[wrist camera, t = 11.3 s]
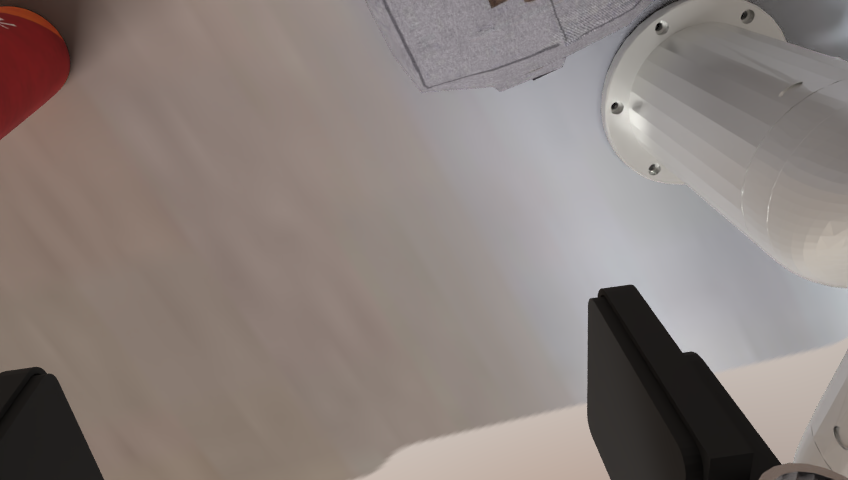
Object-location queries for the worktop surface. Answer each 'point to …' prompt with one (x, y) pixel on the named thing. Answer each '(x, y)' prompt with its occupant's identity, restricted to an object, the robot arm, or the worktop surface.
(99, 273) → the worktop surface
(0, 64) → the paper cup
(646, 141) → the robot arm
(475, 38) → the small grey backpack
